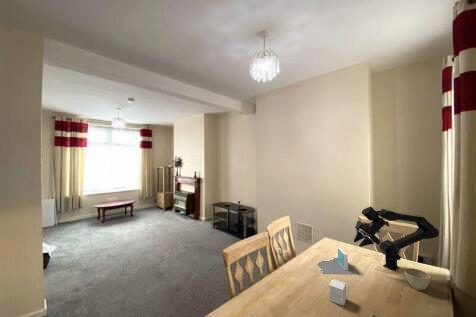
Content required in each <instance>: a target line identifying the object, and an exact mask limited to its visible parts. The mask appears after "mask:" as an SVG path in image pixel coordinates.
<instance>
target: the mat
mask: <svg viewBox="0 0 476 317" xmlns="http://www.w3.org/2000/svg"><path fill="white" fill-rule="evenodd" d="M333 258H334V259H333V260H330V261H322V262H319V263H318V264H317V263H316V265H317V266H318V268H319V267H320V268H321V269H323V270H320V272H321V273H322V274H323V275H346V276H347V275H350V276H354V275H355V276H360V273H359V272H358V271H357V270H356V269H355V268H354V266H352V264H350V262H348V270H345V269H344V268H343V267H342V266H341V265H340V263H339V262H338V257H333ZM320 268H319V269H320ZM322 271H323V272H322Z"/></svg>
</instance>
